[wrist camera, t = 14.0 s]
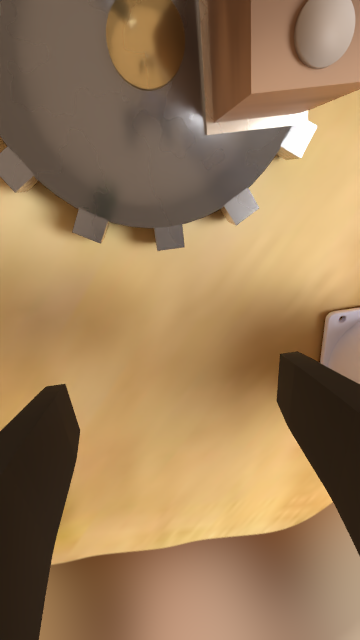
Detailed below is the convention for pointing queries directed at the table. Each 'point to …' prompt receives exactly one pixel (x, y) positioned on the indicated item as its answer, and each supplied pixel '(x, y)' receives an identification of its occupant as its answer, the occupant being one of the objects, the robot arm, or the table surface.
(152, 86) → the sprocket disc
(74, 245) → the table surface
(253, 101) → the link block
